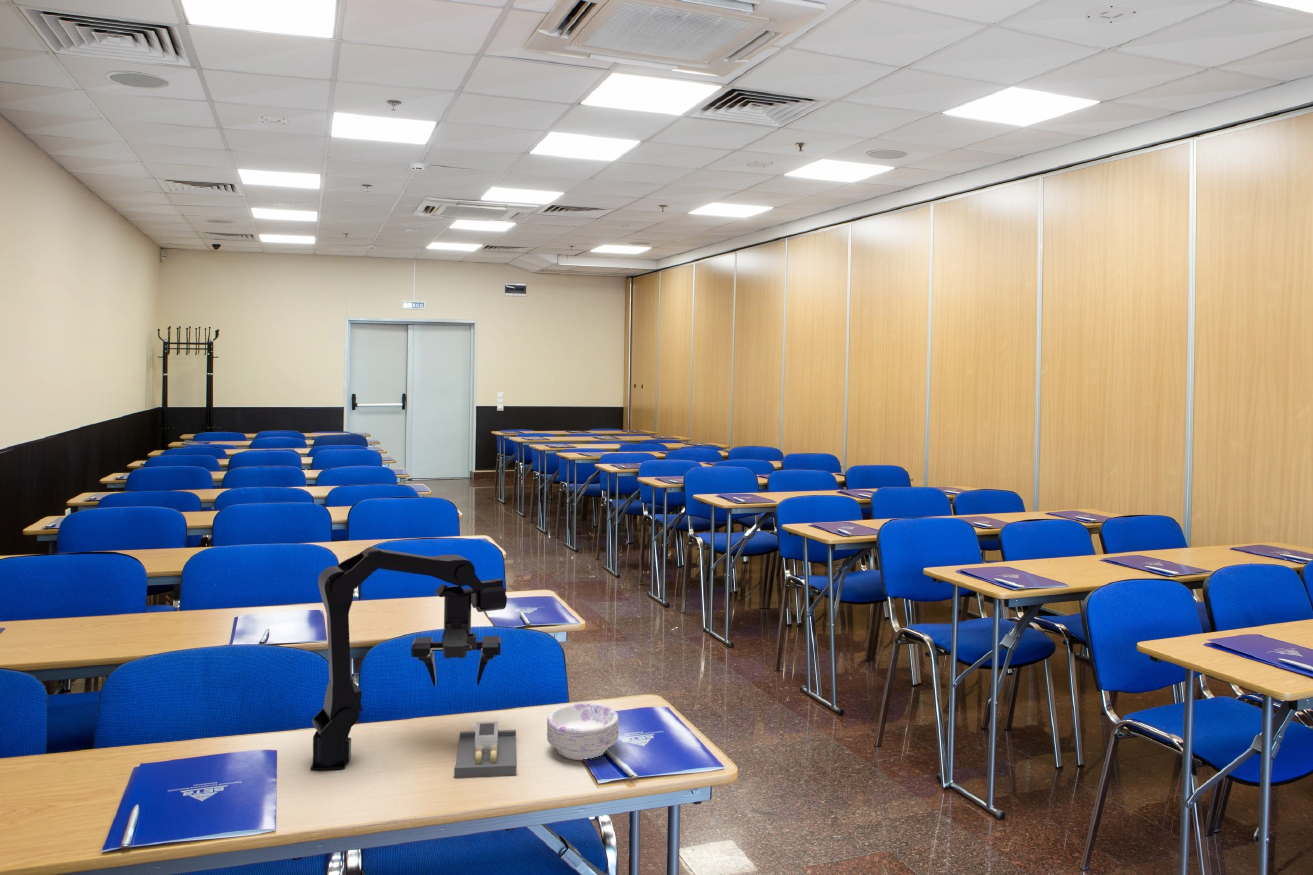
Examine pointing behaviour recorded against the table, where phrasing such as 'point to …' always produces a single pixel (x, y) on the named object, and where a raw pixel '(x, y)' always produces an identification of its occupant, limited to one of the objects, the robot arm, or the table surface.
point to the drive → (486, 738)
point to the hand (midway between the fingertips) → (456, 685)
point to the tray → (498, 766)
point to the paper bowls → (582, 730)
